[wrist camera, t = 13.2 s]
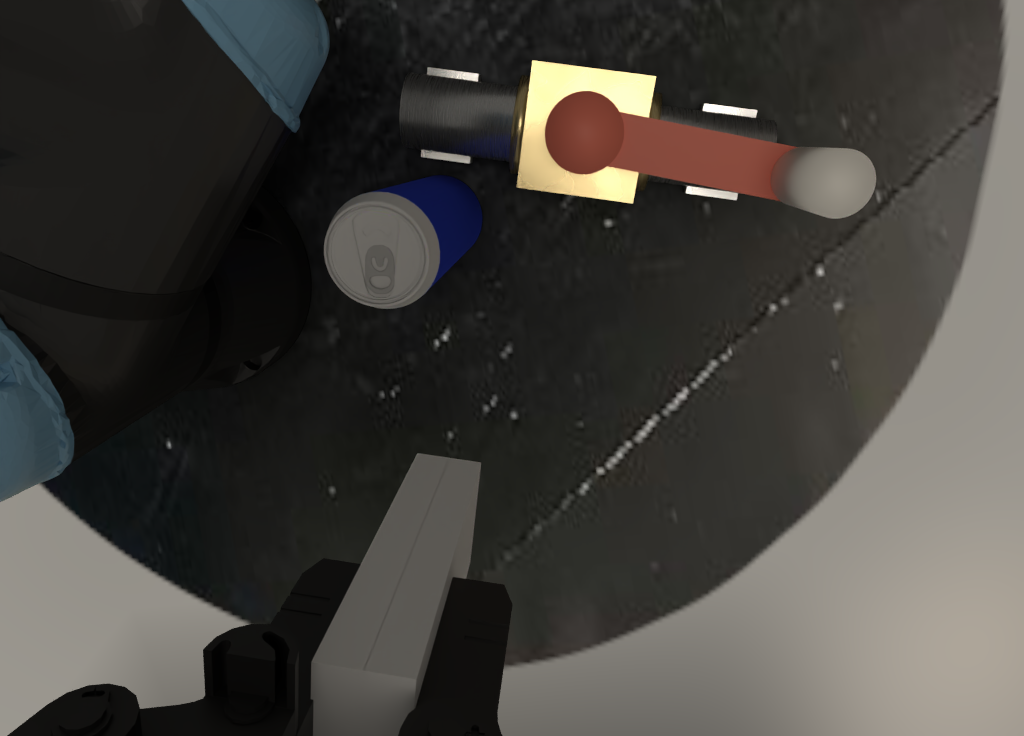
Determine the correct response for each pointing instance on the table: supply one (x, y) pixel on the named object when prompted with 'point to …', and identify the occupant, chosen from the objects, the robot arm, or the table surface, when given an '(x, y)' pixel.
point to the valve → (522, 119)
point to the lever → (706, 157)
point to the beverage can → (401, 239)
